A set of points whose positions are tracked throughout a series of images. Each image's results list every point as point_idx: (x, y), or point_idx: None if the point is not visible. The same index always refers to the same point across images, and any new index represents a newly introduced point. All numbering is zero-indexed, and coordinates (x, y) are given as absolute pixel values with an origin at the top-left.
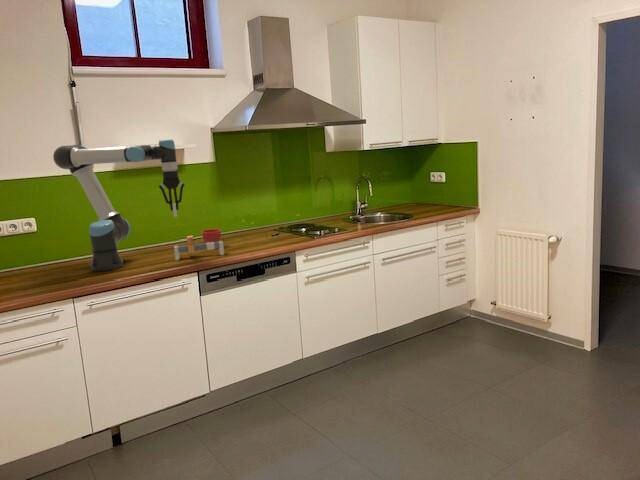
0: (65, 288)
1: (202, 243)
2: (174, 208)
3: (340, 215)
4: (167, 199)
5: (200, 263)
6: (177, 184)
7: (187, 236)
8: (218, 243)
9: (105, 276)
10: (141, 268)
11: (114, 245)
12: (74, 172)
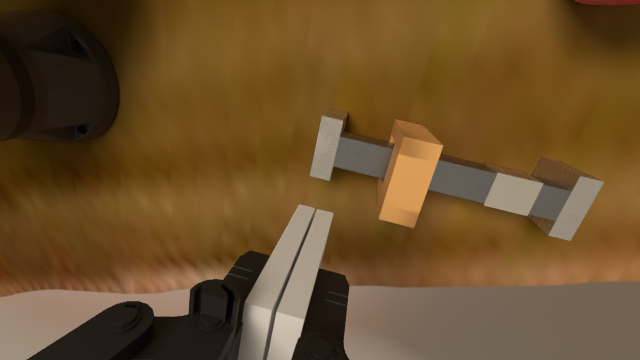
0: (10, 269)
1: (474, 169)
2: (291, 269)
3: None
4: None
5: (388, 278)
6: None
7: (399, 166)
8: (549, 217)
9: (85, 217)
10: (188, 194)
11: (3, 123)
12: None
